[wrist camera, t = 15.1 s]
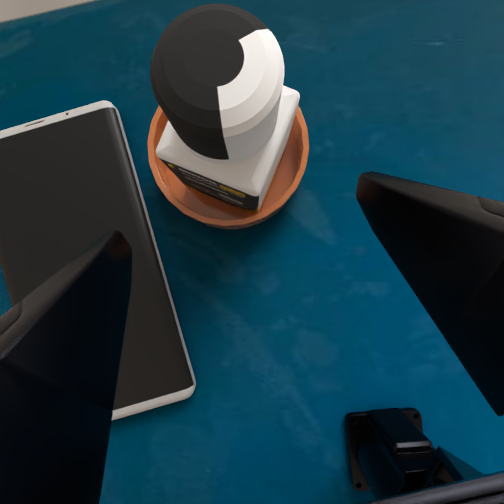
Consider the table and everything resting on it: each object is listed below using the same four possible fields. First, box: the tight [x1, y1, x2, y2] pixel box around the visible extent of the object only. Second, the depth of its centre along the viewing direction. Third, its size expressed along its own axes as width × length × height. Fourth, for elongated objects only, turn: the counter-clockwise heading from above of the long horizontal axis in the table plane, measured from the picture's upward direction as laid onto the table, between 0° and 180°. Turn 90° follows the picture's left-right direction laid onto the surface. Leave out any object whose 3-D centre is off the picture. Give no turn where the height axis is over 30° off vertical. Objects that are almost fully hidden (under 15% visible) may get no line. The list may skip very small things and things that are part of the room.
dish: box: [148, 106, 309, 230], centre depth 21 cm, size 13×13×3 cm
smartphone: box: [0, 101, 196, 420], centre depth 22 cm, size 13×27×2 cm, turn 16°
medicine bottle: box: [150, 4, 300, 214], centre depth 16 cm, size 7×7×12 cm
